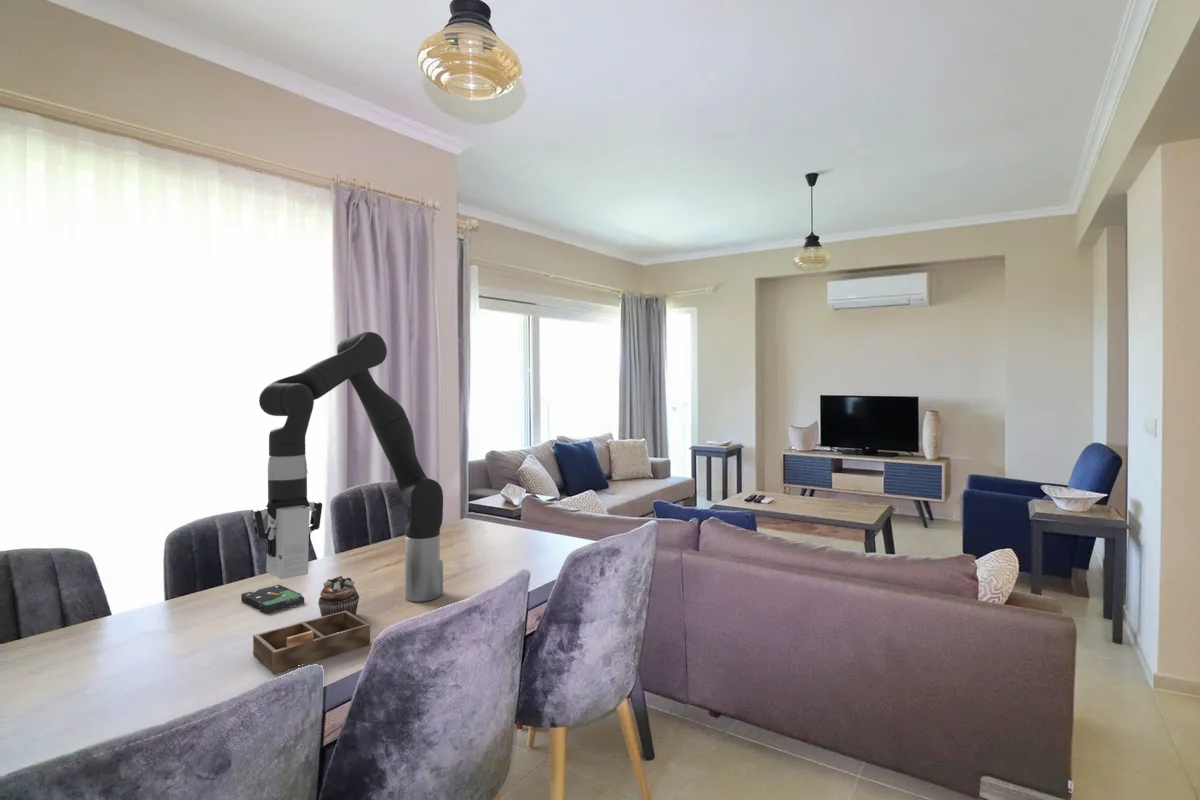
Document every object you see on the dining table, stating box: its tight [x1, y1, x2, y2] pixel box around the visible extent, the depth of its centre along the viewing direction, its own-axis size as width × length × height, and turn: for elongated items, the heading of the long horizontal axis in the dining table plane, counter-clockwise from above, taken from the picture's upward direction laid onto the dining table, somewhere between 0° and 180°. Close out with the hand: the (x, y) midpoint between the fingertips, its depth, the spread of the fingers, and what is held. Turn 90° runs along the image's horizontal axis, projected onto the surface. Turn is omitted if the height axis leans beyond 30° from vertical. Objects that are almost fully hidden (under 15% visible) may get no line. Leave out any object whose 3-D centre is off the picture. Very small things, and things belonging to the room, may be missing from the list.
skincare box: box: [265, 505, 311, 580], centre depth 132 cm, size 8×6×15 cm
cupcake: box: [318, 575, 360, 617], centre depth 155 cm, size 10×10×10 cm
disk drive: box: [240, 584, 305, 615], centre depth 166 cm, size 10×3×15 cm
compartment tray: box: [252, 611, 371, 675], centre depth 136 cm, size 20×13×6 cm, turn 136°
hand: (288, 553), depth 133 cm, fingers closed on skincare box, 6 cm apart
